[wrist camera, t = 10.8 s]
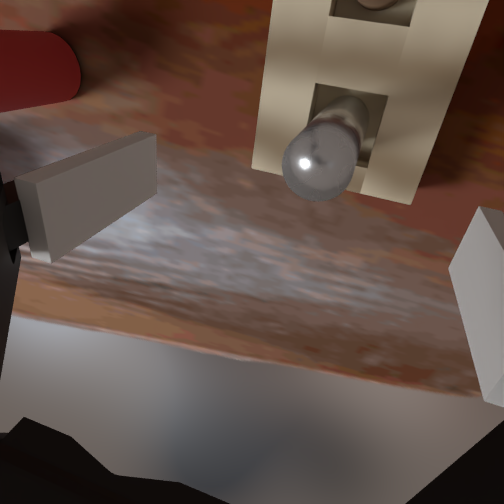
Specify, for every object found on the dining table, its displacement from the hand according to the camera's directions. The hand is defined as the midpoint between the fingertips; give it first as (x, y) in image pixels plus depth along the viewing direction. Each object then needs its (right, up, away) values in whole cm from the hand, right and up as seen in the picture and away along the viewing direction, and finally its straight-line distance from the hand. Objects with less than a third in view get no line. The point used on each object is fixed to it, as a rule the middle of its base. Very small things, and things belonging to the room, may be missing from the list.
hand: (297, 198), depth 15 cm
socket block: (+7, +14, +15) cm, 22 cm away
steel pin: (+6, +9, +17) cm, 20 cm away
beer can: (-22, +17, +24) cm, 37 cm away
